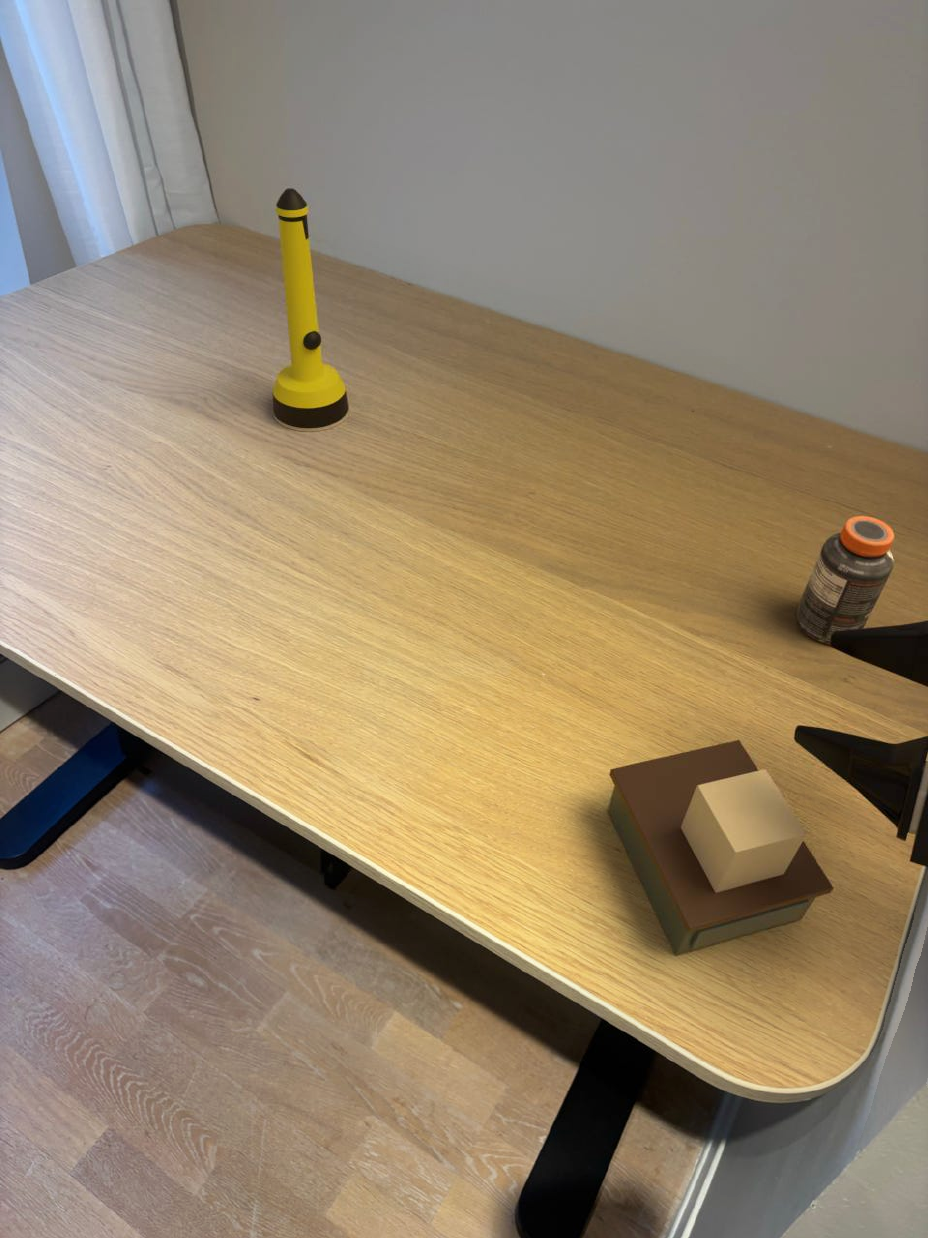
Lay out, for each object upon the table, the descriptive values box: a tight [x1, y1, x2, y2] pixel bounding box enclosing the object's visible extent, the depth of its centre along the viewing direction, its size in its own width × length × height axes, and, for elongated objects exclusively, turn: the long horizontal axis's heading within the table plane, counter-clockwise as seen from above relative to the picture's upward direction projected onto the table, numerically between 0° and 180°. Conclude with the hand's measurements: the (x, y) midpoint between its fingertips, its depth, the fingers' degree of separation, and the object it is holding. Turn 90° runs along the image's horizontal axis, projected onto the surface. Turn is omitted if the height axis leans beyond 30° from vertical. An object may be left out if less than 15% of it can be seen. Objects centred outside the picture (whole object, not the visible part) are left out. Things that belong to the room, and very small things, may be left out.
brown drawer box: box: [607, 739, 834, 957], centre depth 61 cm, size 12×10×5 cm
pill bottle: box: [795, 515, 895, 645], centre depth 77 cm, size 6×6×11 cm
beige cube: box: [681, 768, 808, 893], centre depth 56 cm, size 5×5×5 cm
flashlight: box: [272, 187, 350, 433], centre depth 95 cm, size 25×9×9 cm
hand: (813, 683), depth 55 cm, fingers open, 9 cm apart
